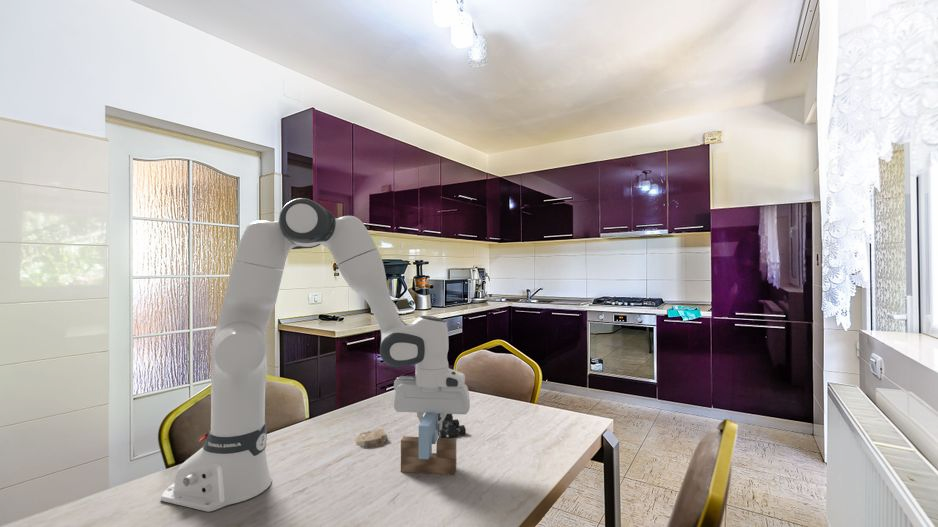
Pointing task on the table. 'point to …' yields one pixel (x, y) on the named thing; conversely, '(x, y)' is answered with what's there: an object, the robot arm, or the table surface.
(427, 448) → the blue arch block
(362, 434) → the stone
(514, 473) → the table surface
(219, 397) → the robot arm
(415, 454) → the wooden u-shaped block
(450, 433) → the toy vehicle
